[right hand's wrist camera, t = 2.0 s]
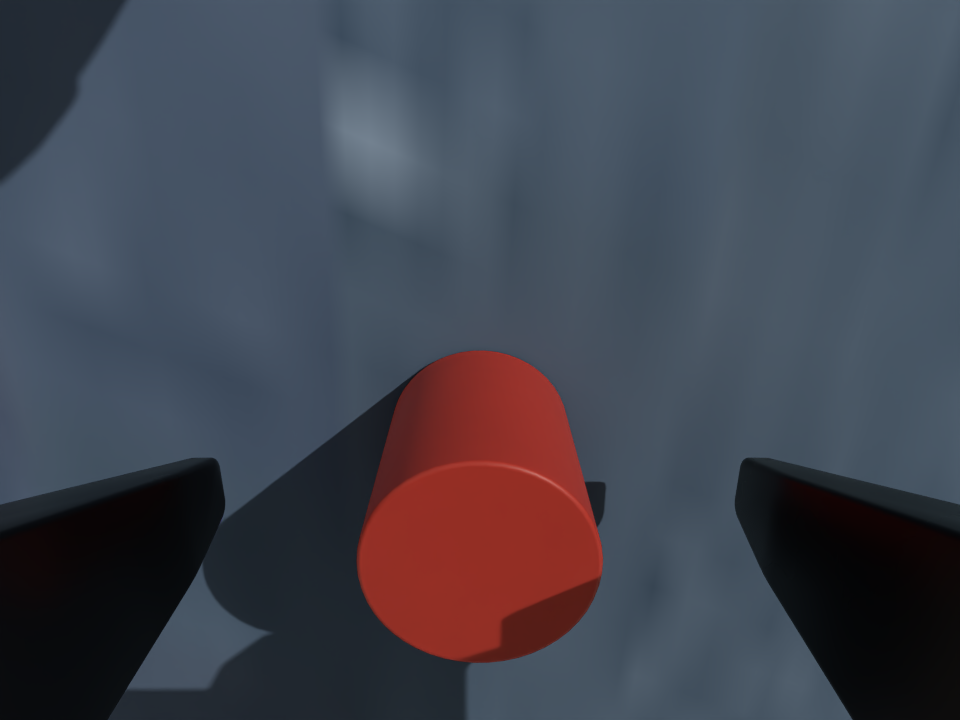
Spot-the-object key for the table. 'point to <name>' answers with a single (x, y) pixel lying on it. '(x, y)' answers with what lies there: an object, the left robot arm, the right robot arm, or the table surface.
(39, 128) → the table surface
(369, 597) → the cylinder
